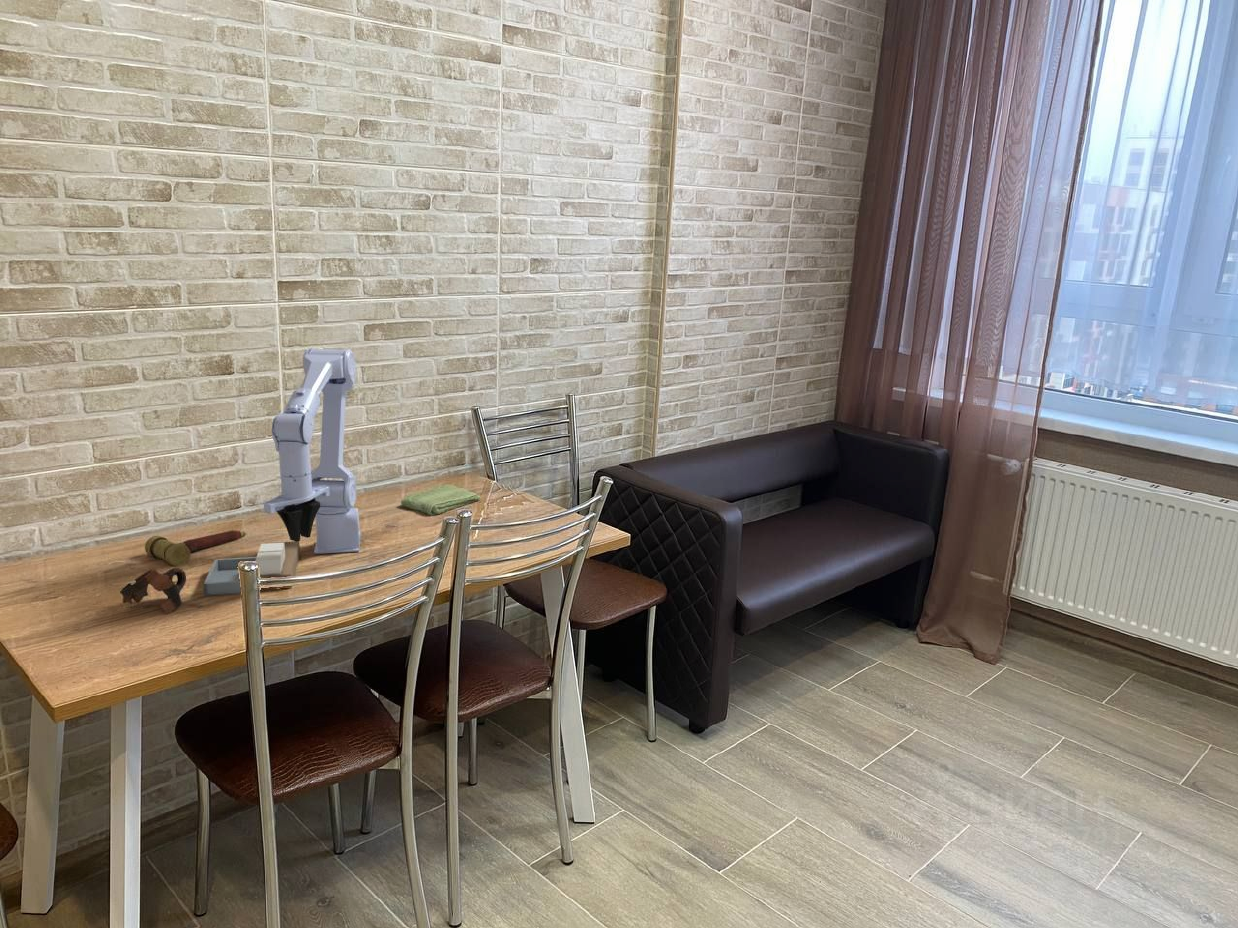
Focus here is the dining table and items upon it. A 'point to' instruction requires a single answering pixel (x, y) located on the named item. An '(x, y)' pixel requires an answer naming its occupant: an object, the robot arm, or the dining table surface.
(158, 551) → the gavel
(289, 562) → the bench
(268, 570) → the white squarish block
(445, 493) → the washcloth
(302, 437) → the robot arm
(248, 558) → the tray
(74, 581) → the dining table surface
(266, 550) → the tile
